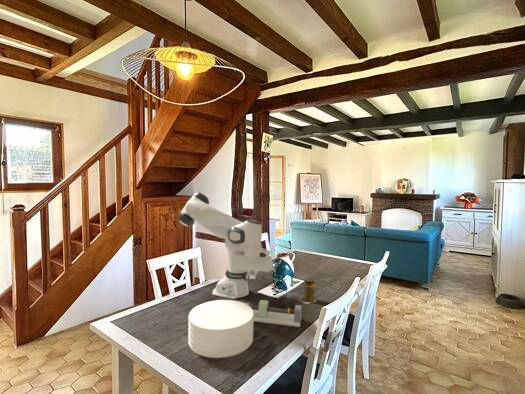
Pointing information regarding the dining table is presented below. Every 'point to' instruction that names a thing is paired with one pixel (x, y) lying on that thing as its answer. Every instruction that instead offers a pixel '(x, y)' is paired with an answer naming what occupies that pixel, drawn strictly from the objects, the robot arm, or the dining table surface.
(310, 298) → the condiment
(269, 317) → the white slider rail
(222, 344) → the plate stack
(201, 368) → the dining table surface
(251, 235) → the robot arm
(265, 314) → the pale green block
